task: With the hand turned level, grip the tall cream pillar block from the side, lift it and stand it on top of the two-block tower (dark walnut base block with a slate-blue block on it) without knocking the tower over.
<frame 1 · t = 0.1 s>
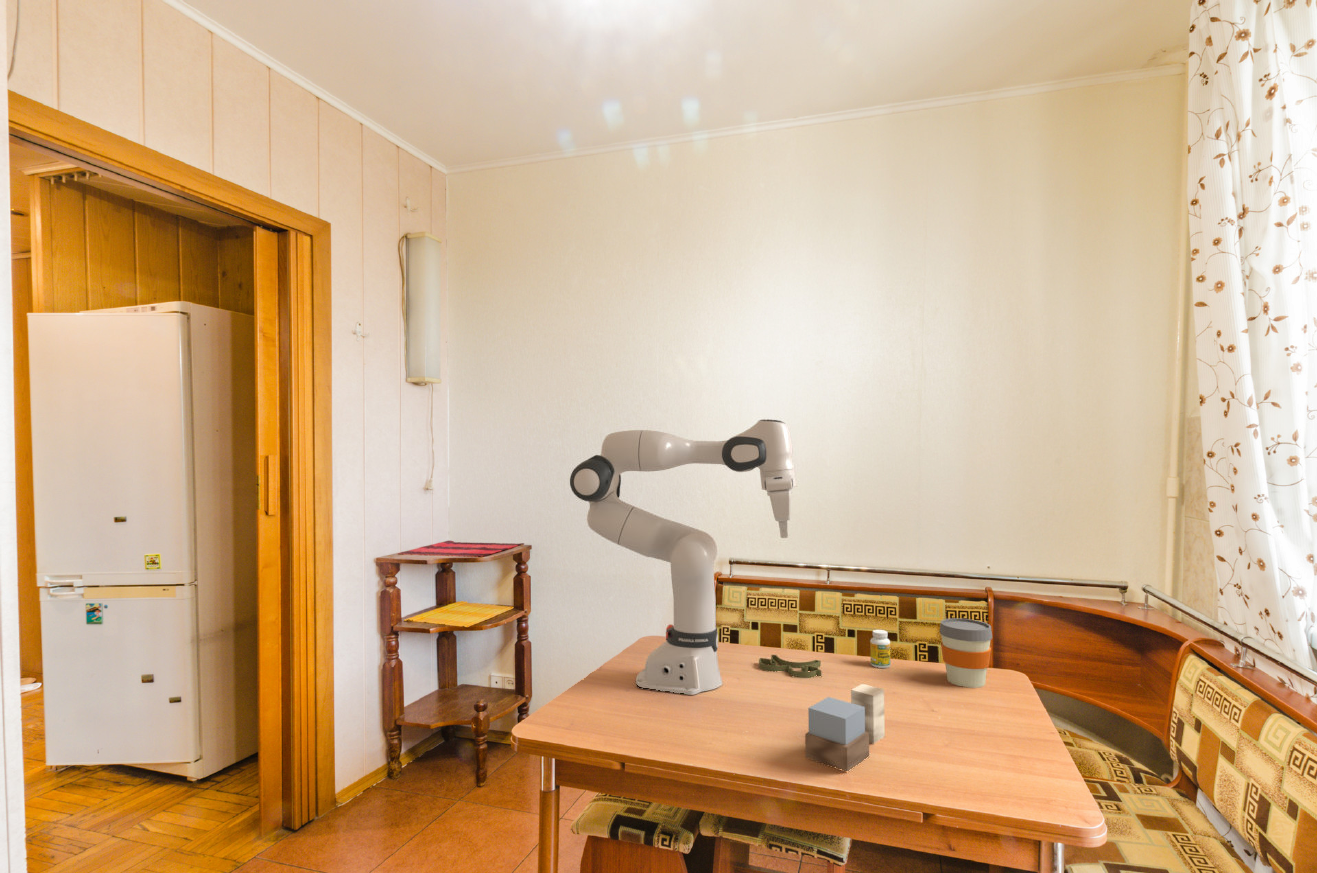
hand: (784, 535, 173), 39 cm above the table, tool pointing down, fingers open, 8 cm apart
slate-blue top block: (836, 732, 134), point 5 cm above the table, touching walnut base block
walnut base block: (837, 758, 133), on the table, touching slate-blue top block
reusable coffee cup: (966, 682, 176), on the table
cream pillar block: (868, 737, 143), on the table
cookie cutter: (790, 671, 187), on the table
supplement bottle: (880, 666, 189), on the table
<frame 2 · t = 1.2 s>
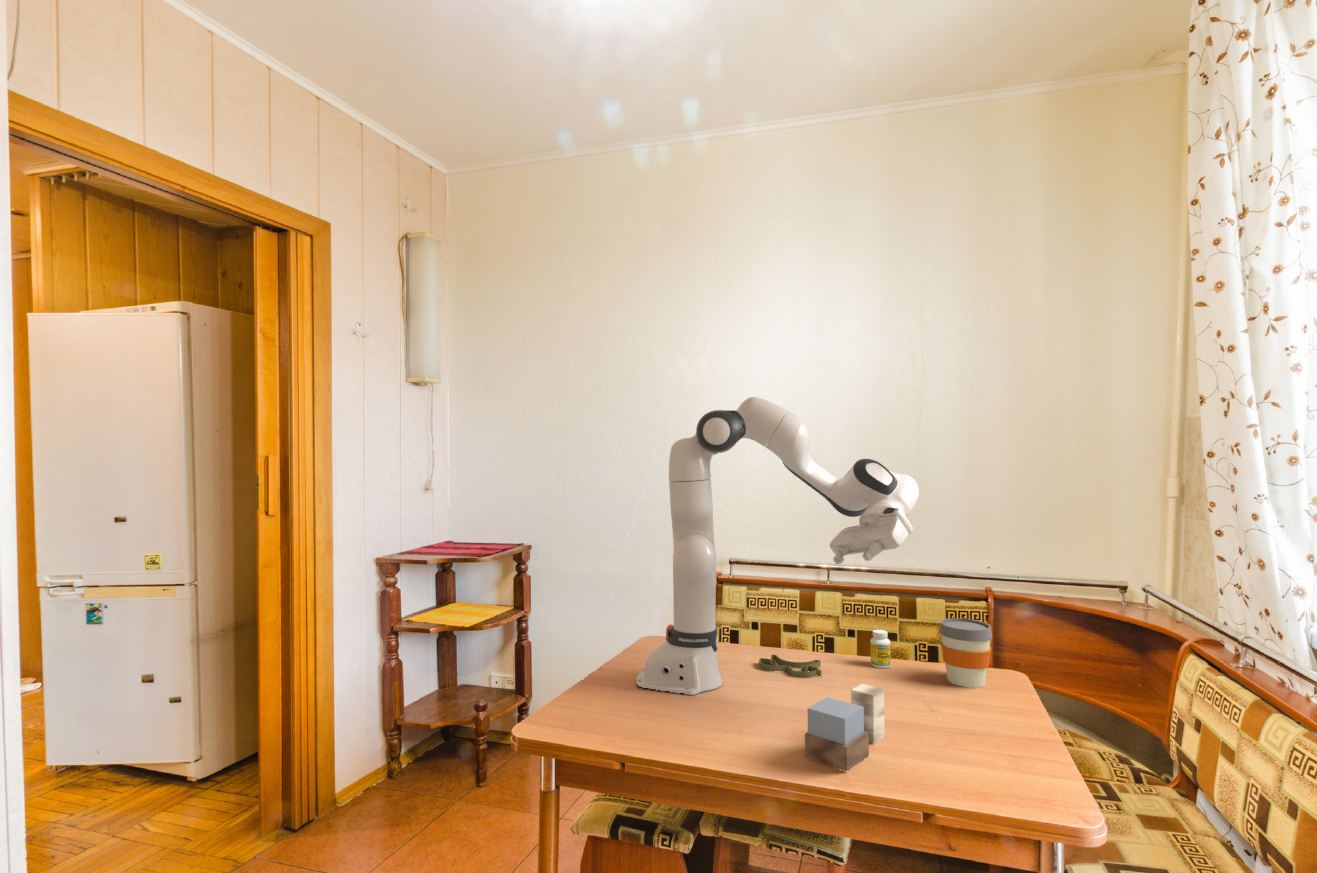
hand: (851, 560, 157), 35 cm above the table, tool tilted 55°, fingers open, 8 cm apart
nothing on the table moved.
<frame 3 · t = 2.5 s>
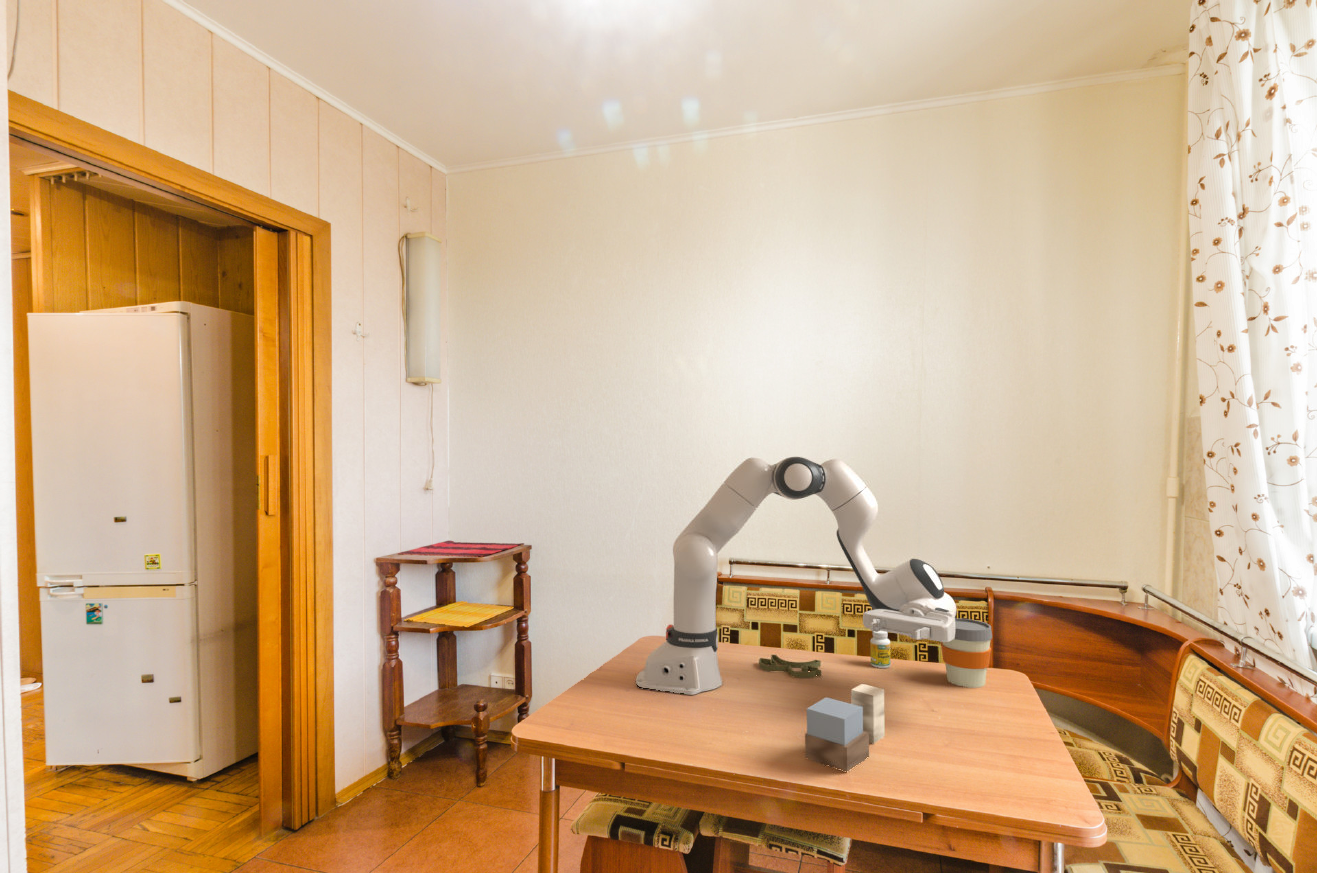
hand: (893, 631, 152), 20 cm above the table, tool horizontal, fingers open, 8 cm apart
nothing on the table moved.
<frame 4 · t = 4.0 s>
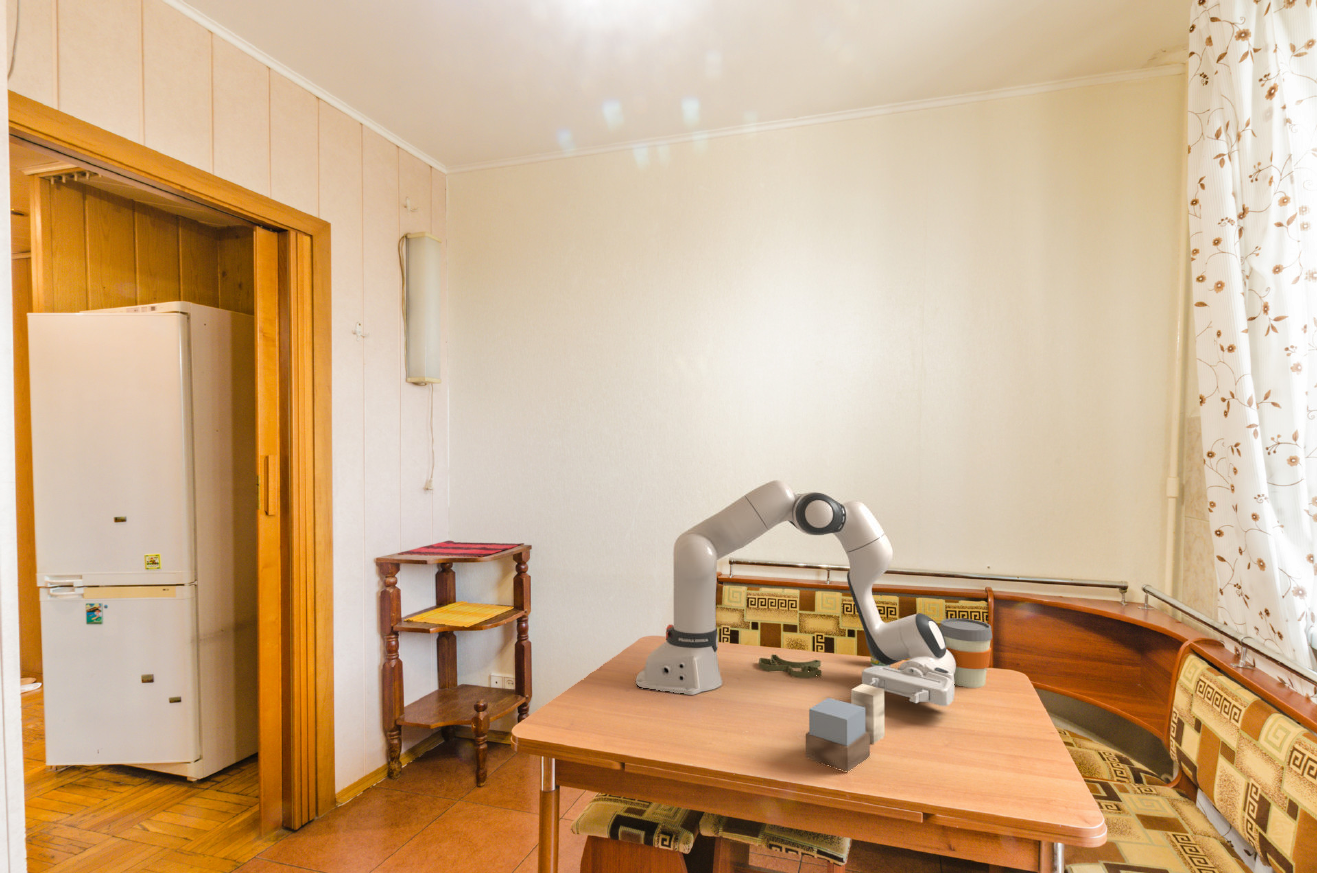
hand: (892, 693, 151), 6 cm above the table, tool horizontal, fingers open, 8 cm apart
nothing on the table moved.
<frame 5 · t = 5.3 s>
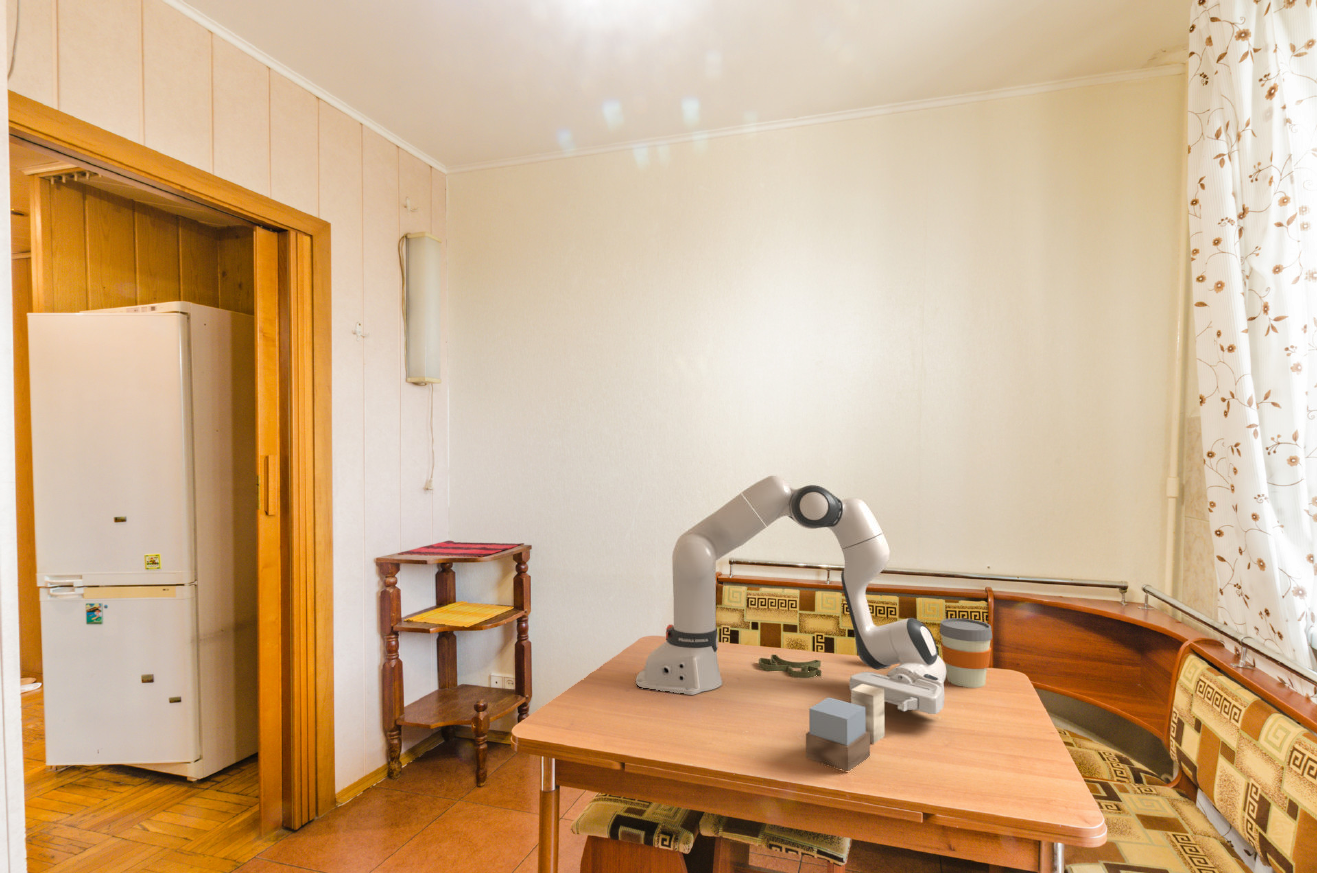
hand: (879, 701, 147), 6 cm above the table, tool horizontal, fingers open, 8 cm apart
nothing on the table moved.
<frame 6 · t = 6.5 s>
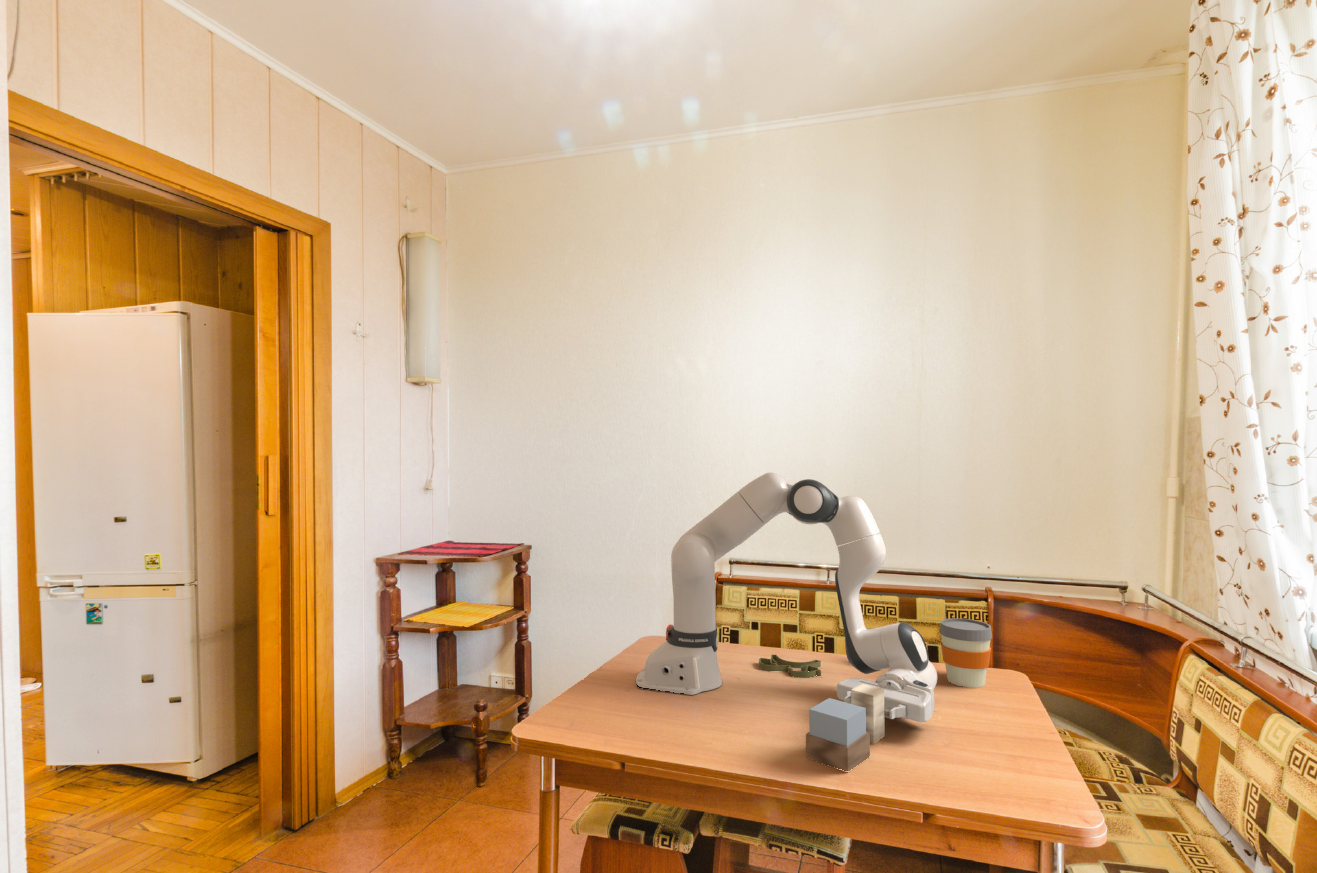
hand: (867, 708, 143), 6 cm above the table, tool horizontal, fingers open, 8 cm apart
nothing on the table moved.
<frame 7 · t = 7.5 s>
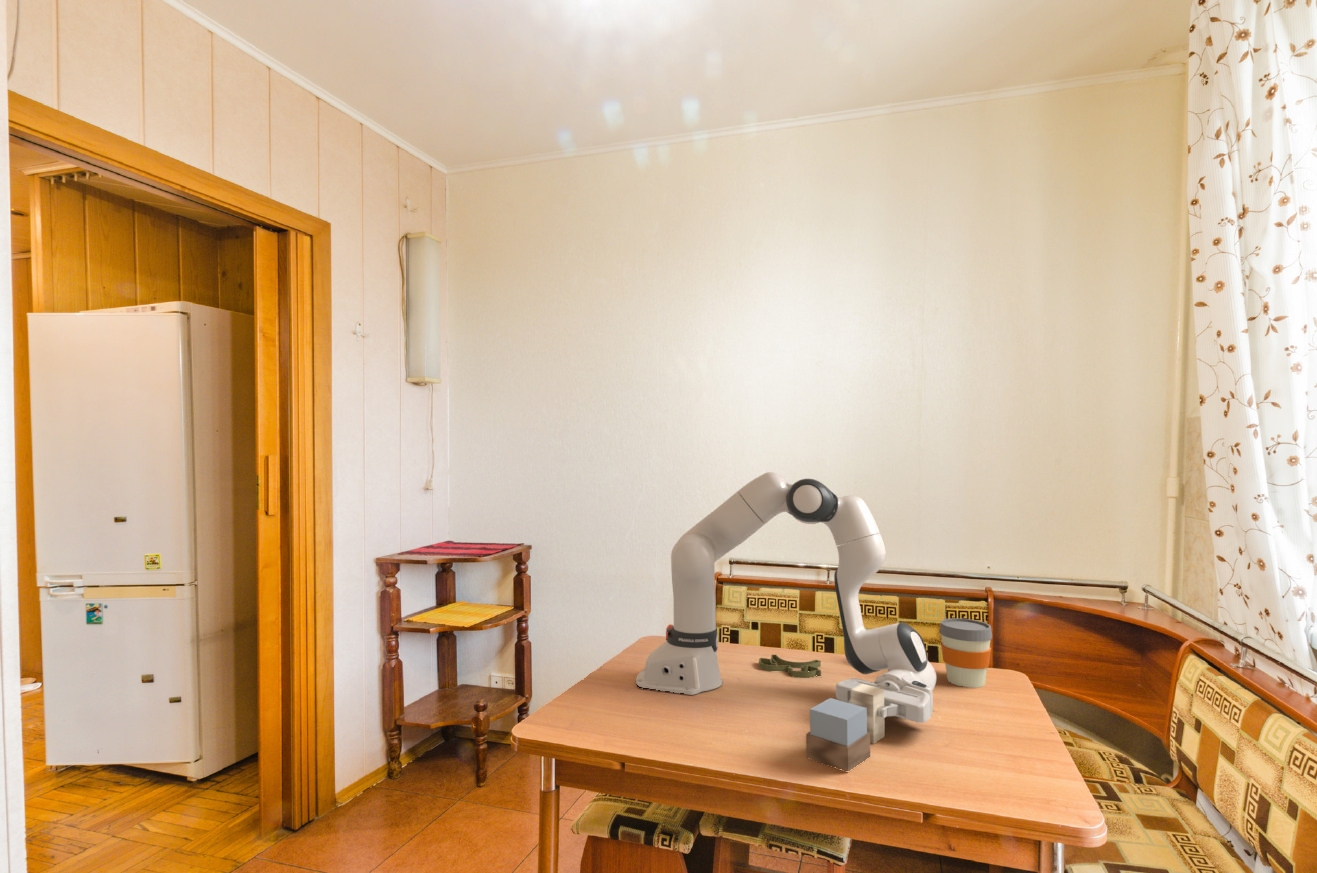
hand: (865, 709, 142), 6 cm above the table, tool horizontal, fingers closed on cream pillar block, 5 cm apart
cream pillar block: (868, 736, 143), on the table, touching gripper
everything else where it was.
when the fingers open (18 cm above the table, at t = 15.3 s): cream pillar block drops 2 cm, resting on slate-blue top block.
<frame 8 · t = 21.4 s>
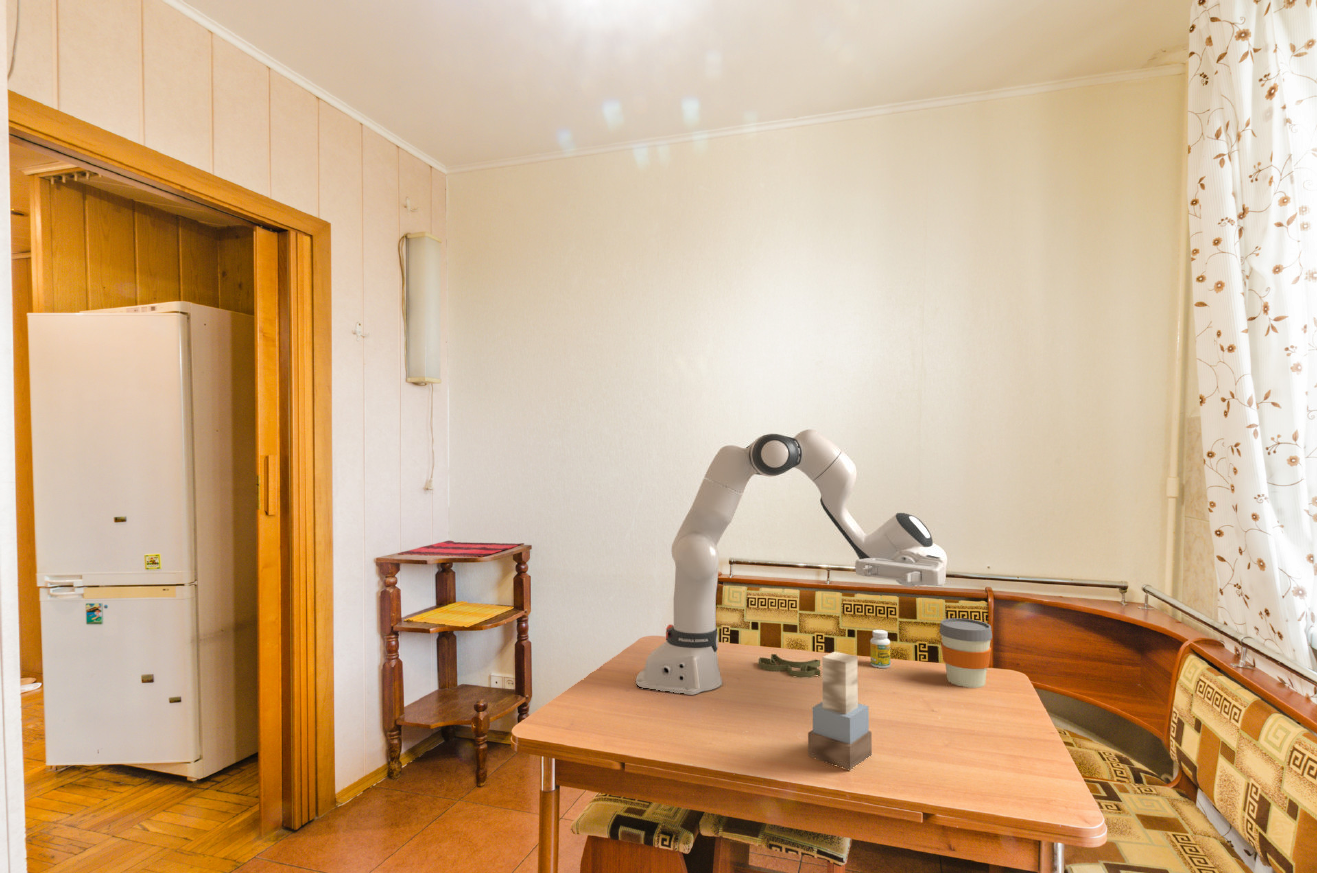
hand: (884, 575, 154), 32 cm above the table, tool horizontal, fingers open, 8 cm apart
slate-blue top block: (840, 732, 134), point 5 cm above the table, touching cream pillar block, walnut base block
cream pillar block: (840, 707, 134), point 10 cm above the table, touching slate-blue top block
everything else where it was.
at the end: cream pillar block 0.4 cm off-centre on the slate-blue top block, point 5.0 cm above the slate-blue top block's base; cream pillar block tilted 0°; slate-blue top block 0.2 cm off-centre on the walnut base block, point 5.0 cm above the walnut base block's base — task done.
